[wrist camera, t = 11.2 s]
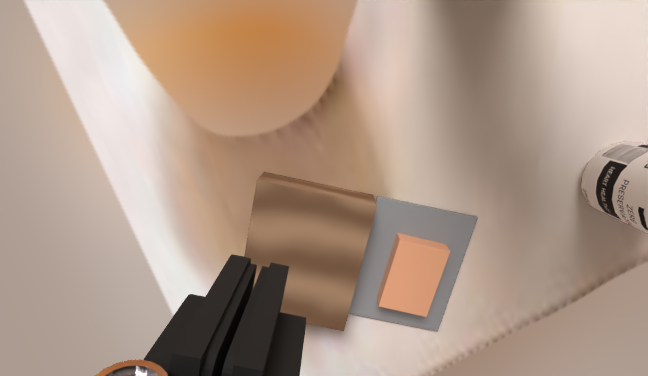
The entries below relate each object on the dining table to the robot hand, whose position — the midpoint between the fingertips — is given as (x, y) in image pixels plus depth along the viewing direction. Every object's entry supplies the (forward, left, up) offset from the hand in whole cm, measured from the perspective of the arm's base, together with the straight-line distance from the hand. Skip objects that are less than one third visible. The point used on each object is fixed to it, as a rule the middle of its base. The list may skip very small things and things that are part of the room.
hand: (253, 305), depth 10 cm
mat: (+13, +14, -32) cm, 38 cm away
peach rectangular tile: (+13, +15, -30) cm, 36 cm away
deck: (+13, +2, -32) cm, 35 cm away
